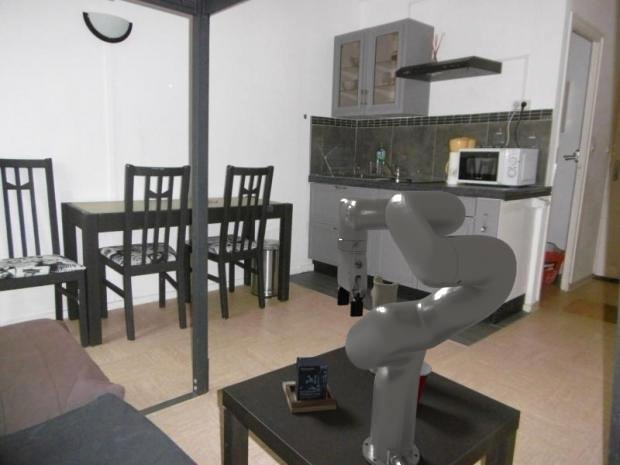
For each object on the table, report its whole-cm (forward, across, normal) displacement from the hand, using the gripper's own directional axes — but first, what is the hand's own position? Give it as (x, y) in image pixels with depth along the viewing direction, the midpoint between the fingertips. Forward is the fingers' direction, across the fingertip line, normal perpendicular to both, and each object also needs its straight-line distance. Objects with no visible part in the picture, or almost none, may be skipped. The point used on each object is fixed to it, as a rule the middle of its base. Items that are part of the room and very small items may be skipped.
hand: (349, 310), depth 118 cm
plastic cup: (+26, -4, -17) cm, 31 cm away
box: (+25, +3, +9) cm, 27 cm away
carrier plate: (+26, +6, +9) cm, 28 cm away
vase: (+26, +16, -18) cm, 35 cm away
